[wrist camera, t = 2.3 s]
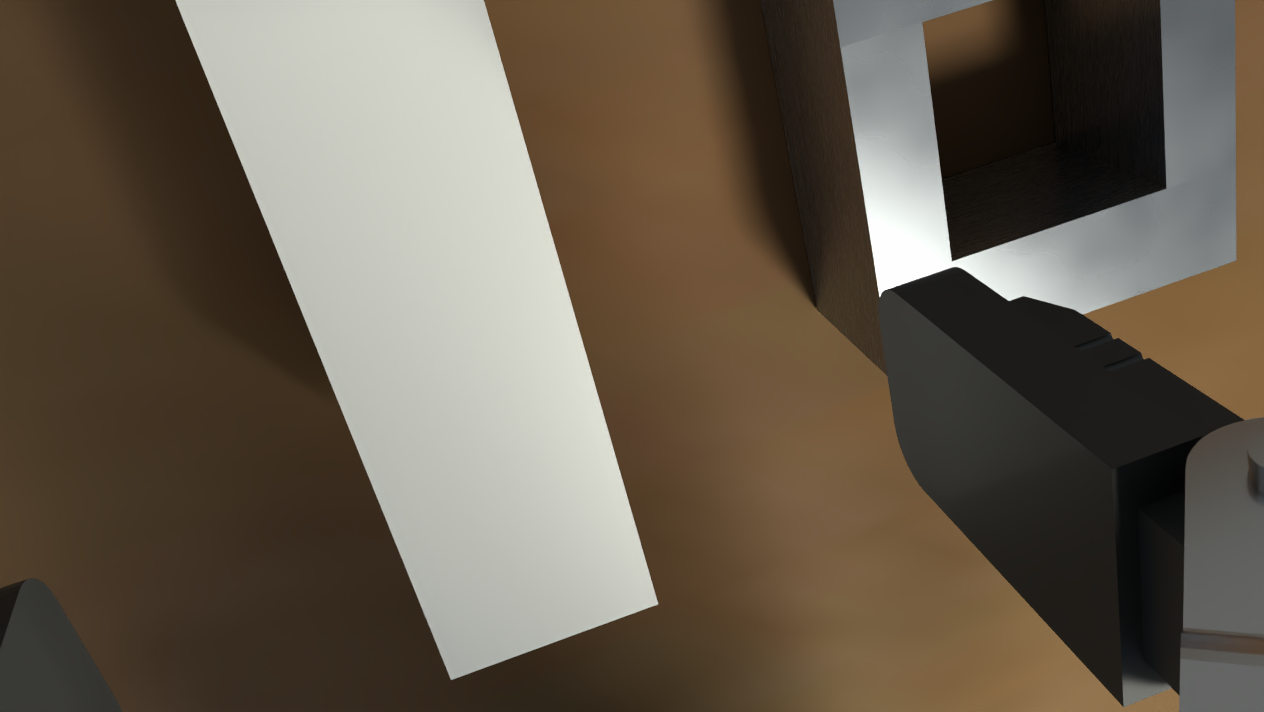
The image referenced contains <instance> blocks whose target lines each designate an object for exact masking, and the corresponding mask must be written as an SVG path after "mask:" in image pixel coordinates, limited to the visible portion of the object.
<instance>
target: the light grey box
mask: <svg viewBox="0 0 1264 712" xmlns="http://www.w3.org/2000/svg"><path fill="white" fill-rule="evenodd" d="M175 1H176V3H177V6H178V8H179V10H180V13H181V15H182V18H183V20H184V23H185V25H186V28H187V30H188V33H189V35H190V38H191V40H192V43H193V45H194V47H195V50H196V52H197V55H198V57H199V60H200V62H201V65H202V67H203V70H204V72H205V75H206V77H207V80H208V82H209V84H210V87H211V89H212V92H213V94H214V97H215V99H216V102H217V104H218V107H219V109H220V112H221V114H222V117H223V119H224V121H225V124H226V126H227V129H228V131H229V134H230V136H231V139H232V141H233V144H234V146H235V149H236V151H237V153H238V156H239V158H240V161H241V163H242V166H243V168H244V171H245V173H246V176H247V178H248V181H249V183H250V186H251V188H252V190H253V193H254V195H255V198H256V200H257V203H258V205H259V208H260V210H261V213H262V215H263V218H264V220H265V223H266V225H267V227H268V230H269V232H270V235H271V237H272V240H273V242H274V245H275V247H276V250H277V252H278V255H279V257H280V260H281V262H282V264H283V267H284V269H285V272H286V274H287V277H288V279H289V282H290V284H291V287H292V289H293V292H294V294H295V296H296V299H297V301H298V304H299V306H300V309H301V311H302V314H303V316H304V319H305V321H306V324H307V326H308V329H309V331H310V333H311V336H312V338H313V341H314V343H315V346H316V348H317V351H318V353H319V356H320V358H321V361H322V363H323V366H324V368H325V370H326V373H327V375H328V378H329V380H330V383H331V385H332V388H333V390H334V393H335V395H336V398H337V400H338V403H339V405H340V407H341V410H342V412H343V415H344V417H345V420H346V422H347V425H348V427H349V430H350V432H351V435H352V437H353V439H354V442H355V444H356V447H357V449H358V452H359V454H360V457H361V459H362V462H363V464H364V467H365V469H366V472H367V474H368V476H369V479H370V481H371V484H372V486H373V489H374V491H375V494H376V496H377V499H378V501H379V504H380V506H381V509H382V511H383V513H384V516H385V518H386V521H387V523H388V526H389V528H390V531H391V533H392V536H393V538H394V541H395V543H396V546H397V548H398V550H399V553H400V555H401V558H402V560H403V563H404V565H405V568H406V570H407V573H408V575H409V578H410V580H411V582H412V585H413V587H414V590H415V592H416V595H417V597H418V600H419V602H420V605H421V607H422V610H423V612H424V615H425V617H426V619H427V622H428V624H429V627H430V629H431V632H432V634H433V637H434V639H435V642H436V644H437V647H438V649H439V652H440V654H441V656H442V659H443V661H444V664H445V666H446V669H447V671H448V674H449V676H450V679H451V680H453V679H455V678H458V677H461V676H464V675H466V674H469V673H472V672H474V671H477V670H480V669H483V668H485V667H488V666H491V665H494V664H496V663H499V662H502V661H505V660H507V659H510V658H513V657H515V656H518V655H521V654H524V653H526V652H529V651H532V650H535V649H537V648H540V647H543V646H546V645H548V644H551V643H554V642H556V641H559V640H562V639H565V638H567V637H570V636H573V635H576V634H578V633H581V632H584V631H587V630H589V629H592V628H595V627H597V626H600V625H603V624H606V623H608V622H611V621H614V620H617V619H619V618H622V617H625V616H627V615H630V614H633V613H636V612H638V611H641V610H644V609H647V608H649V607H652V606H655V605H658V602H657V598H656V595H655V591H654V588H653V584H652V581H651V577H650V574H649V570H648V567H647V564H646V560H645V557H644V553H643V550H642V546H641V543H640V539H639V536H638V532H637V529H636V525H635V522H634V519H633V515H632V512H631V508H630V505H629V501H628V498H627V494H626V491H625V487H624V484H623V480H622V477H621V474H620V470H619V467H618V463H617V460H616V456H615V453H614V449H613V446H612V442H611V439H610V435H609V432H608V429H607V425H606V422H605V418H604V415H603V411H602V408H601V404H600V401H599V397H598V394H597V391H596V387H595V384H594V380H593V377H592V373H591V370H590V366H589V363H588V359H587V356H586V352H585V349H584V346H583V342H582V339H581V335H580V332H579V328H578V325H577V321H576V318H575V314H574V311H573V307H572V304H571V301H570V297H569V294H568V290H567V287H566V283H565V280H564V276H563V273H562V269H561V266H560V262H559V259H558V256H557V252H556V249H555V245H554V242H553V238H552V235H551V231H550V228H549V224H548V221H547V217H546V214H545V211H544V207H543V204H542V200H541V197H540V193H539V190H538V186H537V183H536V179H535V176H534V172H533V169H532V166H531V162H530V159H529V155H528V152H527V148H526V145H525V141H524V138H523V134H522V131H521V127H520V124H519V121H518V117H517V114H516V110H515V107H514V103H513V100H512V96H511V93H510V89H509V86H508V83H507V79H506V76H505V72H504V69H503V65H502V62H501V58H500V55H499V51H498V48H497V44H496V41H495V38H494V34H493V31H492V27H491V24H490V20H489V17H488V13H487V10H486V6H485V3H484V0H175Z"/></svg>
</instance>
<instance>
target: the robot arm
mask: <svg viewBox="0 0 1264 712" xmlns="http://www.w3.org/2000/svg"><path fill="white" fill-rule="evenodd" d="M878 314H879V322H880V329H881V336H882V342H883V349H884V356H885V362H886V369H887V376H888V382H889V389H890V396H891V402H892V409H893V416H894V422H895V428H896V433H897V437H898V441H899V444H900V447H901V450H902V453H903V455H904V458H905V460H906V462H907V464H908V466H909V468H910V470H911V472H912V474H913V476H914V477H915V479H916V481H917V482H918V483H919V485H920V486H921V487H922V489H923V490H924V491H925V492H926V493H927V494H928V495H929V496H930V497H931V499H932V500H933V501H934V502H935V503H936V504H937V505H938V506H939V507H940V508H941V509H942V510H943V512H944V513H945V514H946V515H947V516H948V517H949V518H950V519H951V520H952V521H953V522H954V524H955V525H956V526H957V527H958V528H959V529H960V530H961V531H962V532H963V533H964V534H965V535H966V537H967V538H968V539H969V540H970V541H971V542H972V543H973V544H974V545H975V546H976V547H977V548H978V550H979V551H980V552H981V553H982V554H983V555H984V556H985V557H986V558H987V559H988V560H989V561H990V563H991V564H992V565H993V566H994V567H995V568H996V569H997V570H998V571H999V572H1000V573H1001V575H1002V576H1003V577H1004V578H1005V579H1006V580H1007V581H1008V582H1009V583H1010V584H1011V585H1012V586H1013V588H1014V589H1015V590H1016V591H1017V592H1018V593H1019V594H1020V595H1021V596H1022V597H1023V598H1024V599H1025V601H1026V602H1027V603H1028V604H1029V605H1030V606H1031V607H1032V608H1033V609H1034V610H1035V611H1036V612H1037V614H1038V615H1039V616H1040V617H1041V618H1042V619H1043V620H1044V621H1045V622H1046V623H1047V624H1048V626H1049V627H1050V628H1051V629H1052V630H1053V631H1054V632H1055V633H1056V634H1057V635H1058V636H1059V637H1060V639H1061V640H1062V641H1063V642H1064V643H1065V644H1066V645H1067V646H1068V647H1069V648H1070V649H1071V650H1072V652H1073V653H1074V654H1075V655H1076V656H1077V657H1078V658H1079V659H1080V660H1081V661H1082V662H1083V663H1084V665H1085V666H1086V667H1087V668H1088V669H1089V670H1090V671H1091V672H1092V673H1093V674H1094V675H1095V677H1096V678H1097V679H1098V680H1099V681H1100V682H1101V683H1102V684H1103V685H1104V686H1105V687H1106V688H1107V690H1108V691H1109V692H1110V693H1111V694H1112V695H1113V696H1114V697H1115V698H1116V699H1117V700H1118V701H1119V703H1120V704H1121V705H1122V706H1123V707H1125V706H1128V705H1130V704H1133V703H1135V702H1138V701H1140V700H1143V699H1145V698H1148V697H1150V696H1153V695H1155V694H1158V693H1160V692H1163V691H1165V690H1168V689H1170V688H1172V689H1173V690H1174V691H1175V692H1176V693H1177V694H1178V695H1179V696H1180V703H1179V712H1264V417H1263V418H1254V419H1249V420H1243V419H1242V418H1240V417H1239V416H1237V415H1236V414H1234V413H1233V412H1231V411H1230V410H1228V409H1227V408H1225V407H1223V406H1222V405H1220V404H1219V403H1217V402H1216V401H1214V400H1213V399H1211V398H1210V397H1208V396H1207V395H1205V394H1203V393H1202V392H1200V391H1199V390H1197V389H1196V388H1194V387H1193V386H1191V385H1190V384H1188V383H1187V382H1185V381H1184V380H1182V379H1180V378H1179V377H1177V376H1176V375H1174V374H1173V373H1171V372H1170V371H1168V370H1167V369H1165V368H1164V367H1162V366H1160V365H1159V364H1157V363H1156V362H1154V361H1153V360H1151V359H1150V358H1148V359H1145V360H1144V359H1143V358H1142V355H1141V353H1140V352H1139V351H1137V350H1136V349H1134V348H1133V347H1131V346H1130V345H1128V344H1127V343H1125V342H1124V341H1122V340H1120V339H1119V338H1117V339H1114V340H1113V338H1112V336H1111V333H1110V332H1108V331H1107V330H1105V329H1104V328H1102V327H1100V326H1099V325H1097V324H1096V323H1094V322H1093V321H1091V320H1090V319H1088V318H1087V317H1085V316H1084V315H1082V314H1081V313H1079V312H1077V311H1076V310H1074V309H1070V308H1067V307H1063V306H1059V305H1055V304H1052V303H1048V302H1044V301H1040V300H1037V299H1033V298H1029V297H1026V296H1022V297H1019V298H1016V299H1014V300H1011V301H1008V300H1007V299H1005V298H1004V297H1002V296H1001V295H999V294H998V293H997V292H995V291H994V290H992V289H991V288H989V287H988V286H987V285H985V284H984V283H982V282H981V281H979V280H978V279H977V278H975V277H974V276H972V275H971V274H969V273H968V272H967V271H965V270H963V269H962V268H959V267H952V268H949V269H946V270H943V271H940V272H937V273H934V274H931V275H928V276H925V277H922V278H919V279H916V280H913V281H910V282H907V283H905V284H902V285H899V286H896V287H893V288H890V289H887V290H884V291H883V292H882V293H881V295H880V298H879V304H878ZM0 712H122V710H121V708H120V706H119V704H118V702H117V700H116V699H115V697H114V695H113V693H112V692H111V690H110V688H109V687H108V685H107V683H106V682H105V680H104V678H103V677H102V675H101V673H100V672H99V670H98V668H97V666H96V665H95V663H94V661H93V660H92V658H91V656H90V655H89V653H88V651H87V650H86V648H85V646H84V645H83V643H82V641H81V639H80V638H79V636H78V634H77V633H76V631H75V629H74V628H73V626H72V624H71V623H70V621H69V619H68V617H67V616H66V614H65V612H64V611H63V609H62V607H61V606H60V604H59V602H58V601H57V599H56V597H55V596H54V594H53V593H52V592H51V591H50V589H49V588H48V587H47V586H46V585H45V584H44V583H43V582H41V581H39V580H38V579H34V578H29V579H26V580H23V581H20V582H17V583H14V584H12V585H9V586H6V587H3V588H0Z"/></svg>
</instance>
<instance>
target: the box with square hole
mask: <svg viewBox="0 0 1264 712" xmlns="http://www.w3.org/2000/svg"><path fill="white" fill-rule="evenodd" d="M989 1H992V0H760V2H761V8H762V13H763V18H764V24H765V29H766V35H767V40H768V46H769V51H770V56H771V62H772V67H773V73H774V78H775V84H776V89H777V94H778V100H779V105H780V111H781V116H782V121H783V127H784V132H785V138H786V143H787V149H788V154H789V159H790V165H791V170H792V176H793V181H794V187H795V192H796V197H797V203H798V208H799V214H800V219H801V225H802V230H803V235H804V241H805V246H806V252H807V257H808V262H809V268H810V273H811V279H812V284H813V290H814V295H815V300H816V306H817V310H818V311H819V312H820V313H821V314H822V315H823V316H824V317H825V318H826V319H827V320H828V321H829V322H831V323H832V324H833V325H834V326H835V327H836V328H837V329H838V330H839V331H840V332H841V333H842V334H843V335H844V336H845V337H847V338H848V339H849V340H850V341H851V342H852V343H853V344H854V345H855V346H856V347H857V348H858V349H859V350H860V351H861V352H863V353H864V354H865V355H866V356H867V357H868V358H869V359H870V360H871V361H872V362H873V363H874V364H875V365H876V366H877V367H879V368H880V369H881V370H882V371H883V372H884V373H885V374H886V375H887V369H886V362H885V356H884V349H883V342H882V336H881V329H880V322H879V314H878V304H879V298H880V295H881V293H882V292H883V291H884V290H887V289H890V288H893V287H896V286H899V285H902V284H905V283H907V282H910V281H913V280H916V279H919V278H922V277H925V276H928V275H931V274H934V273H937V272H940V271H943V270H946V269H949V268H952V267H959V268H962V269H963V270H965V271H967V272H968V273H969V274H971V275H972V276H974V277H975V278H977V279H978V280H979V281H981V282H982V283H984V284H985V285H987V286H988V287H989V288H991V289H992V290H994V291H995V292H997V293H998V294H999V295H1001V296H1002V297H1004V298H1005V299H1007V300H1008V301H1011V300H1014V299H1016V298H1019V297H1022V296H1026V297H1029V298H1033V299H1037V300H1040V301H1044V302H1048V303H1052V304H1055V305H1059V306H1063V307H1067V308H1070V309H1074V310H1076V311H1077V312H1079V313H1081V314H1085V313H1088V312H1091V311H1093V310H1096V309H1099V308H1102V307H1105V306H1108V305H1111V304H1113V303H1116V302H1119V301H1122V300H1125V299H1128V298H1131V297H1133V296H1136V295H1139V294H1142V293H1145V292H1148V291H1151V290H1153V289H1156V288H1159V287H1162V286H1165V285H1168V284H1171V283H1173V282H1176V281H1179V280H1182V279H1185V278H1188V277H1191V276H1193V275H1196V274H1199V273H1202V272H1205V271H1208V270H1211V269H1213V268H1216V267H1219V266H1222V265H1225V264H1228V263H1231V262H1233V261H1236V118H1235V0H1045V8H1046V21H1047V34H1048V47H1049V60H1050V73H1051V86H1052V99H1053V112H1054V125H1055V138H1056V142H1054V143H1051V144H1048V145H1045V146H1042V147H1039V148H1036V149H1032V150H1029V151H1026V152H1023V153H1020V154H1017V155H1014V156H1011V157H1008V158H1005V159H1002V160H999V161H996V162H993V163H990V164H987V165H984V166H981V167H978V168H975V169H972V170H969V171H966V172H963V173H960V174H957V175H954V176H951V177H948V178H944V179H942V178H941V170H940V162H939V154H938V146H937V138H936V130H935V122H934V113H933V105H932V97H931V89H930V81H929V73H928V65H927V57H926V49H925V41H924V33H923V25H922V22H924V21H928V20H931V19H934V18H937V17H940V16H944V15H947V14H950V13H953V12H956V11H960V10H963V9H966V8H969V7H973V6H976V5H979V4H982V3H985V2H989Z"/></svg>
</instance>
